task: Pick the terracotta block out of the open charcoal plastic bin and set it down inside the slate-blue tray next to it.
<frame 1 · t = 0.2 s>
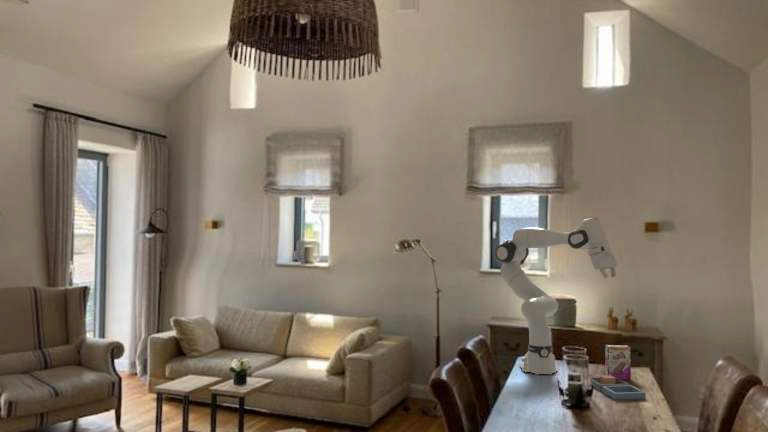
hand: (610, 277, 277), 51 cm above the table, tool tilted 20°, fingers open, 8 cm apart
charcoal bin: (607, 387, 273), on the table
candy bar box: (618, 379, 287), on the table
terracotta block: (607, 382, 273), in the charcoal bin
slate tray: (623, 396, 258), on the table
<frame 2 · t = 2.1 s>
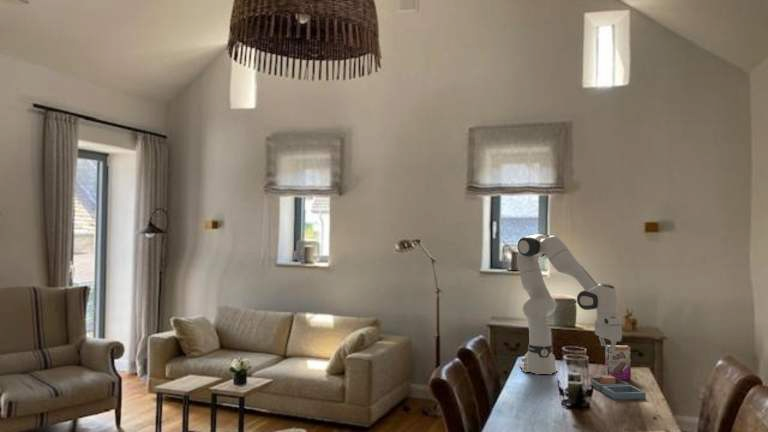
hand: (607, 347, 273), 18 cm above the table, tool pointing down, fingers open, 8 cm apart
nothing on the table moved.
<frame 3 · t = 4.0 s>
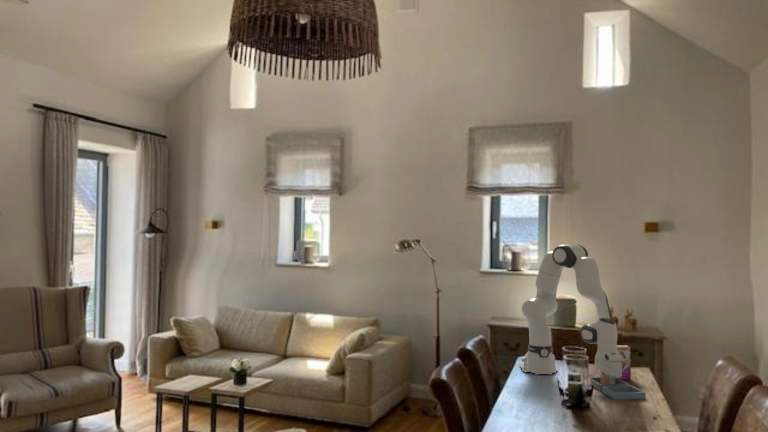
hand: (607, 383, 273), 2 cm above the table, tool pointing down, fingers closed on terracotta block, 5 cm apart
terracotta block: (607, 381, 273), in the charcoal bin, touching gripper
everything else where it was.
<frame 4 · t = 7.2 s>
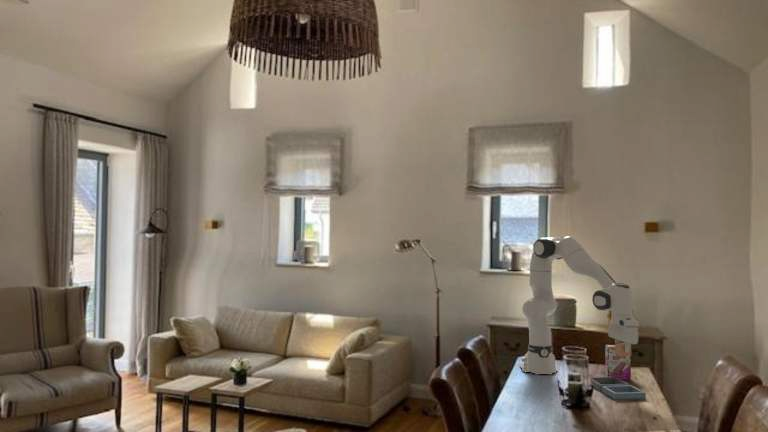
hand: (622, 350, 259), 20 cm above the table, tool pointing down, fingers closed on terracotta block, 5 cm apart
terracotta block: (622, 349, 259), point 20 cm above the table, touching gripper
everything else where it was.
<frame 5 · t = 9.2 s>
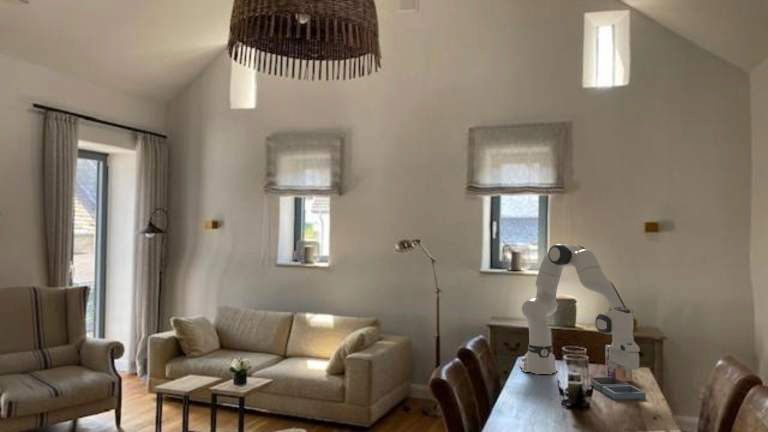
hand: (623, 375, 258), 9 cm above the table, tool pointing down, fingers closed on terracotta block, 5 cm apart
terracotta block: (623, 374, 258), point 10 cm above the table, touching gripper
everything else where it was.
when the fingers open (4 cm above the table, at t = 10.7 s): terracotta block drops 1 cm, resting on slate tray.
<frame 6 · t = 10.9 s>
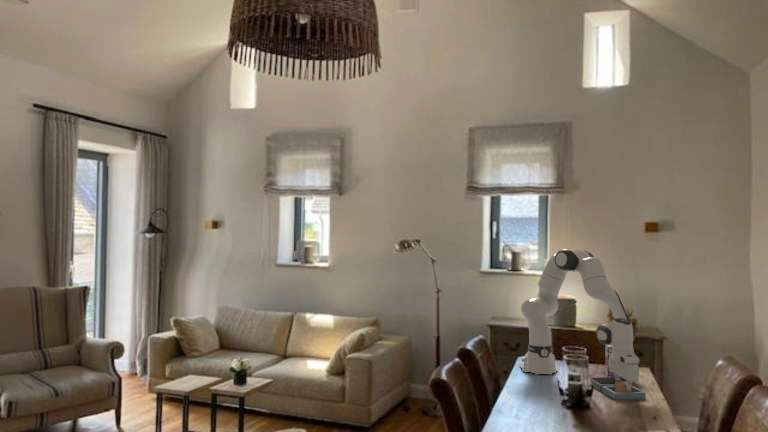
hand: (623, 386, 258), 4 cm above the table, tool pointing down, fingers open, 7 cm apart
terracotta block: (623, 389, 258), in the slate tray, point 3 cm above the table
everything else where it was.
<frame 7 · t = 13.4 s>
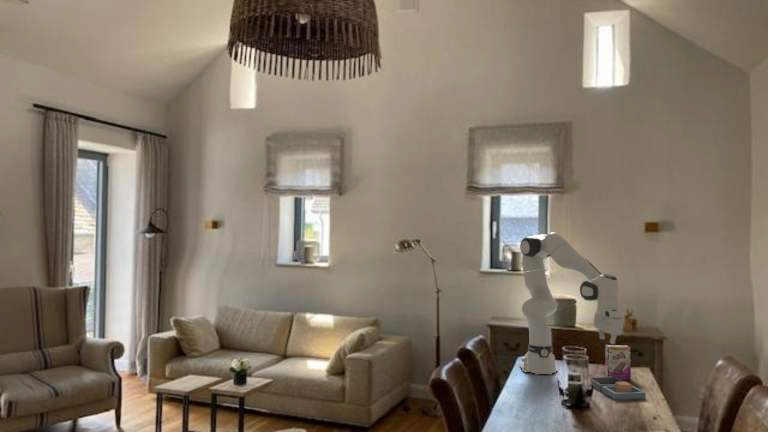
hand: (607, 341, 262), 24 cm above the table, tool pointing down, fingers open, 8 cm apart
nothing on the table moved.
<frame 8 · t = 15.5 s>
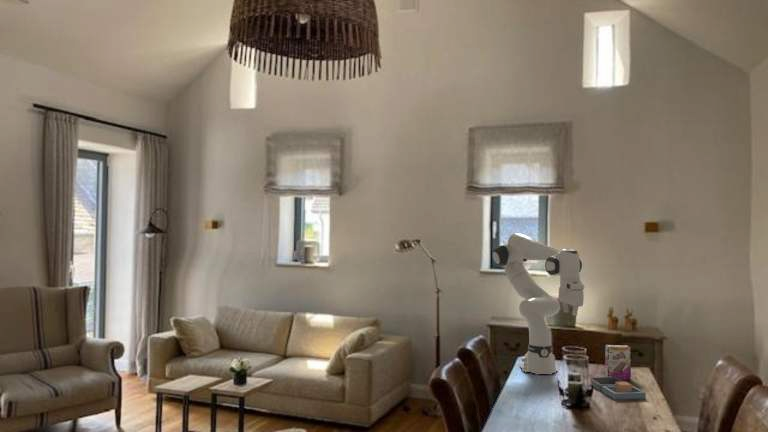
hand: (570, 313, 269), 35 cm above the table, tool pointing down, fingers open, 8 cm apart
nothing on the table moved.
at the end: terracotta block inside the target area on the slate tray (0.0 cm from its centre), point 3.1 cm above the slate tray's base; terracotta block tilted 0°; the gripper is holding nothing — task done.
